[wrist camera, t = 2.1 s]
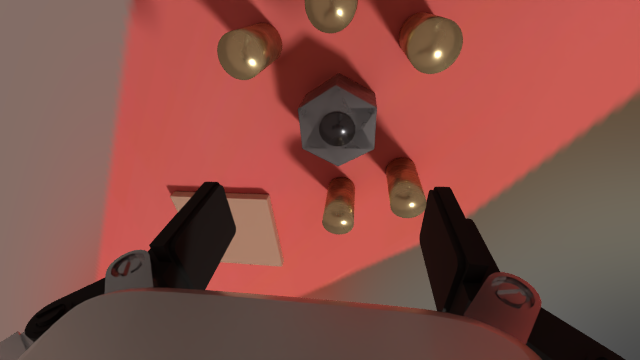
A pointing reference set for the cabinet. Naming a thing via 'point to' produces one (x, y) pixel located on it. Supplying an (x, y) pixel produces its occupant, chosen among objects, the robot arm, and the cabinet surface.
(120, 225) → the cabinet surface
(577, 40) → the cabinet surface
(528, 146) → the cabinet surface
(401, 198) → the brass standoffs
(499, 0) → the cabinet surface
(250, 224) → the tan tile
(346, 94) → the steel nut
